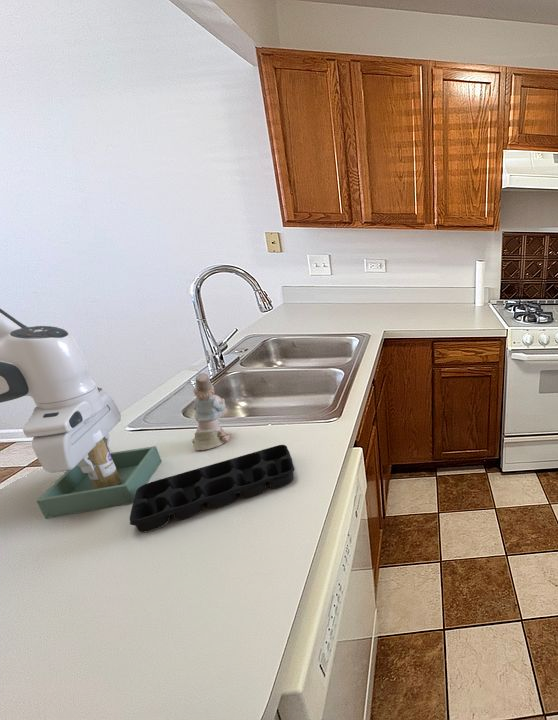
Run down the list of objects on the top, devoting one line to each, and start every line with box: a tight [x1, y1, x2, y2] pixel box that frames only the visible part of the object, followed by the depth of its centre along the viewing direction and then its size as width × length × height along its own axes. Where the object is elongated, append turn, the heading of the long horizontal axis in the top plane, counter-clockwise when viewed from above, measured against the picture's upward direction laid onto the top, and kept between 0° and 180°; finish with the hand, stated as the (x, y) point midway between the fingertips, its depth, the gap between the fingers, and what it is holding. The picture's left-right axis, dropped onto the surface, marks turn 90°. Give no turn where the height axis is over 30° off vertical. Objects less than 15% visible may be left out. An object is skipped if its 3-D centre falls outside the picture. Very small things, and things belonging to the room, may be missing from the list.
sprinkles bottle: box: [87, 430, 122, 489], centre depth 84 cm, size 5×5×13 cm
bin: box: [36, 445, 162, 519], centre depth 86 cm, size 15×15×4 cm
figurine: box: [191, 372, 230, 451], centre depth 99 cm, size 9×8×20 cm
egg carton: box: [129, 444, 296, 533], centre depth 85 cm, size 18×30×4 cm, turn 135°
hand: (97, 462), depth 84 cm, fingers closed on sprinkles bottle, 4 cm apart
